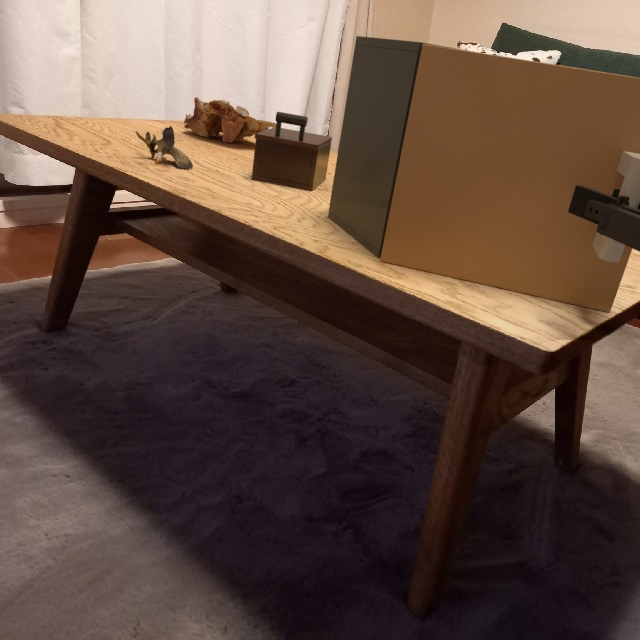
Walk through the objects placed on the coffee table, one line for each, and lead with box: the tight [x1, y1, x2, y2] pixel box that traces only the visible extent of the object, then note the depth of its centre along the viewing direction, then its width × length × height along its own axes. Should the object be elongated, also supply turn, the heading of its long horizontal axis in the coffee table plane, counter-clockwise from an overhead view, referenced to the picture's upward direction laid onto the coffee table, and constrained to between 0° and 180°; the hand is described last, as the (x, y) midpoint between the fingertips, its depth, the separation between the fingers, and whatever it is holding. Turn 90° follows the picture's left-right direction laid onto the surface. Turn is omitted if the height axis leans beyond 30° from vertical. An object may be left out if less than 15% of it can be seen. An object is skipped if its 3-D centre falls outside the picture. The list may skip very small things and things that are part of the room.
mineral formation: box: [183, 97, 277, 144], centre depth 140 cm, size 23×16×10 cm
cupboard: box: [327, 35, 474, 259], centre depth 84 cm, size 18×26×24 cm
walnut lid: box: [254, 111, 333, 150], centre depth 109 cm, size 13×11×5 cm
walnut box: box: [251, 139, 332, 192], centre depth 112 cm, size 13×11×7 cm
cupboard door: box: [379, 43, 640, 313], centre depth 66 cm, size 7×26×24 cm, turn 75°
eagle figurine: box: [135, 125, 194, 169], centre depth 109 cm, size 8×7×9 cm
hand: (594, 200), depth 64 cm, fingers open, 4 cm apart
